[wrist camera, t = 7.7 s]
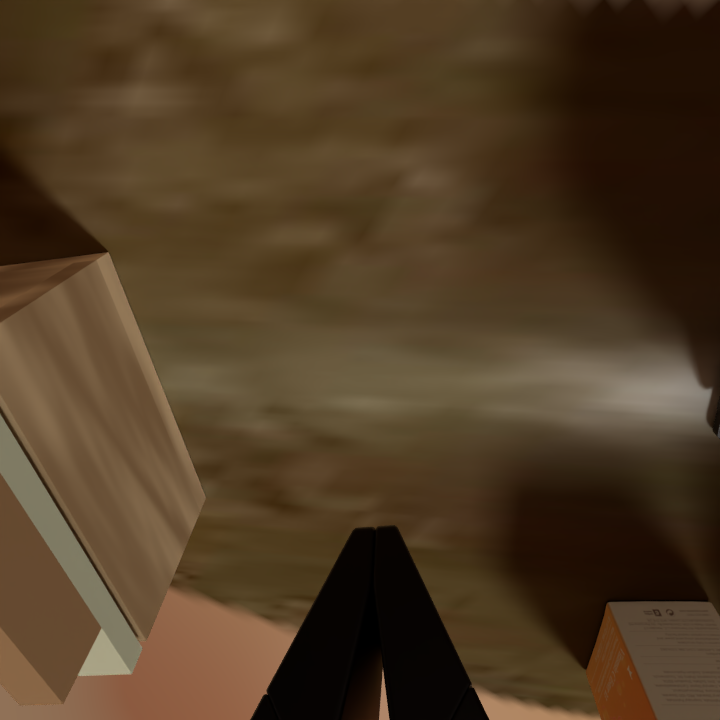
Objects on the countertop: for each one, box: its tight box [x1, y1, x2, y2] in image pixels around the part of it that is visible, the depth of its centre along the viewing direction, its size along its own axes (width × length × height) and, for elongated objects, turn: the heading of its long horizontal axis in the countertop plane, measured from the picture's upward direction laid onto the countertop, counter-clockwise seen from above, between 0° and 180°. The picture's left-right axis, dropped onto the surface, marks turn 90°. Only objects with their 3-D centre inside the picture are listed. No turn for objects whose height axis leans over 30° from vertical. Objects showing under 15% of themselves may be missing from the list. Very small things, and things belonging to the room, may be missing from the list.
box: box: [0, 252, 206, 641], centre depth 21 cm, size 9×14×8 cm, turn 8°
